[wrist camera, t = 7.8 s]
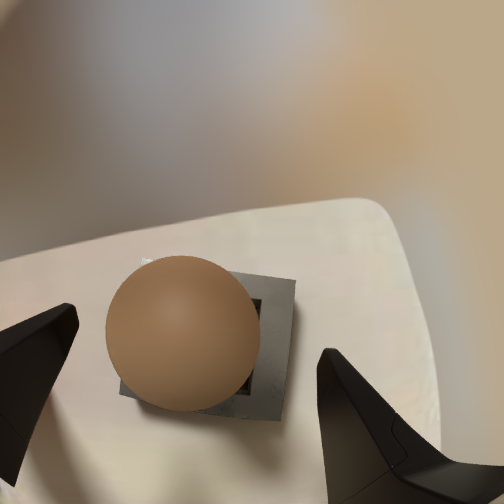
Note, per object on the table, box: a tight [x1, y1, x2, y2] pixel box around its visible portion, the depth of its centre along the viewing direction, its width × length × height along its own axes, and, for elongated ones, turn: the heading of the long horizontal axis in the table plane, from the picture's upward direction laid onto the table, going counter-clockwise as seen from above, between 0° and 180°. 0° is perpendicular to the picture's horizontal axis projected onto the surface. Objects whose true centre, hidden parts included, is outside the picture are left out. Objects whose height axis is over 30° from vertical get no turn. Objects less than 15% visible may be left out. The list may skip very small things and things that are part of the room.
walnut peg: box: [106, 256, 260, 412], centre depth 13 cm, size 4×4×12 cm
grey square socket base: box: [119, 258, 296, 421], centre depth 17 cm, size 9×10×3 cm
